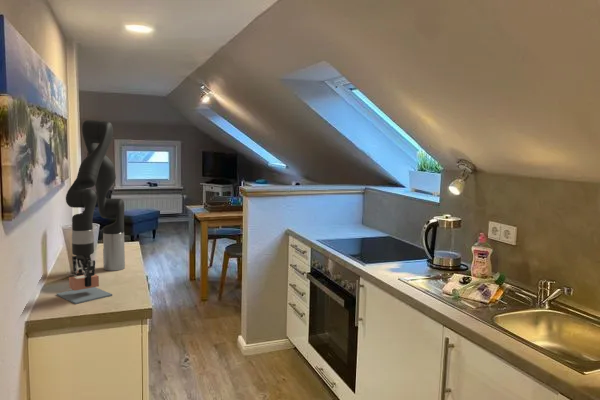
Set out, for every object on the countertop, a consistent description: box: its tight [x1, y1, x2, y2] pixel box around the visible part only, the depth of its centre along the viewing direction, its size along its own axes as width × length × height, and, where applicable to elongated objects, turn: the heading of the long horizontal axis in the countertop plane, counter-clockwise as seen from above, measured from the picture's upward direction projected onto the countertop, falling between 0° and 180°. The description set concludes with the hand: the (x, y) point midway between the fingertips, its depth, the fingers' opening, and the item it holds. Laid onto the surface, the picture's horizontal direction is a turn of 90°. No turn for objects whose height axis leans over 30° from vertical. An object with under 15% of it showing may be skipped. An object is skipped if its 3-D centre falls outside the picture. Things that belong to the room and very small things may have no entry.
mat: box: [55, 287, 113, 305], centre depth 180 cm, size 16×14×1 cm
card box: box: [68, 273, 100, 291], centre depth 179 cm, size 9×6×4 cm, turn 133°
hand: (84, 284), depth 179 cm, fingers closed on card box, 5 cm apart
